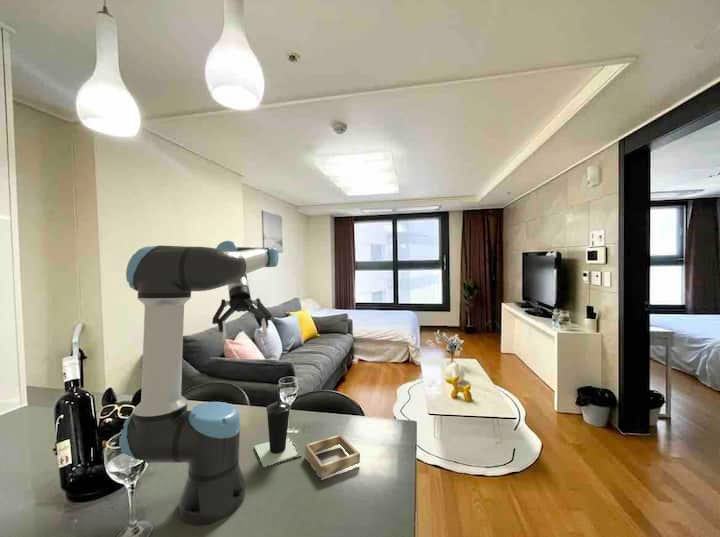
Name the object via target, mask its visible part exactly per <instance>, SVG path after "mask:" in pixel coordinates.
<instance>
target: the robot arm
mask: <svg viewBox="0 0 720 537" xmlns="http://www.w3.org/2000/svg"><path fill="white" fill-rule="evenodd" d="M278 263H279V251H278V249H277V248H276V247H249V246H247V247H246V246H237V244H236V243H235V242H234V241H231V240H225V241H221V242H220V243H218V244H217V246H216V248H215V247H209V246H208V247H207V246H183V245H182V246H180V245H179V246H177V245H152V246H149V245H148V246H143V247H142V248H139V249H138V250H137V251H136V252H135V253H133V254H132V256H131V257H130V259H129V261H128V262H127V266H126V269H125V270H126V271H125V278H126V282H127V283H128V286H129V287H130V288H131V289H132V290H134V291H135V292H137V300H139V301H140V302H141V304H142V305H143V306H144V315H143V316H144V317H143V318H144V320H143V321H144V322H143V338H142V339H143V340H142V342H143V343H142V367H141V368H142V369H141V394H140V397H141V398H140V402H139V403H138V404H137V405H136V406H135V407H134V408H133V410H132V413H131V414H130V415H129V416H128V417H127V418H126V419H125V421H124V423H123V424H122V426H123V428H122V429H121V430H120V433H119V442H118V444H119V449H120V448H121V451H120V453H121V452H123V453H124V454H126V455H128V456H131V457H133V458H134V459H139V460H143V461H145V462H147V464H151V463H153V464H160V463H161V464H165V463H166V464H168V463H169V464H170V463H171V464H172V463H173V464H174V463H175V464H176V463H179V464H180V463H182V464H183V463H184V464H185V463H187V464H188V465H187V471H188V472H187V478H186V481H185V484H184V487H183V490H182V493H181V496H180V498H179V503H178V504H179V505H178V508H179V510H178V512H179V513H178V514H179V517H180V518H181V519H182V521H184V522H185V523H188V524H191V525H206V524H211V523H215V522H218V521H221V520H222V519H225V518H227V517H228V516H230V515H232V514H233V513H234V512H236V510H238V508H240V507H241V505H242V504H243V502H244V500H245V497H246V481H245V478H244V475H243V472H242V470H241V467H240V464H239V463H240V437H241V436H240V433H241V432H240V431H241V421H240V411H239V409H237V408H236V407H235V406H234V405H233V404H231V403H228V402H224V401H223V402H222V401H209V402H203V403H199V404H198V405H195V406H194V407H193V408H192V409H191V410H188V399H187V398H185V397H184V396H183V395H182V383H183V382H182V380H183V379H182V377H183V351H184V350H183V348H184V347H183V346H184V345H183V344H184V320H185V319H184V316H185V304H186V303H187V302H188V301H189V300H190V299H191V298H192V292H206V291H211V290H215V289H218V288H222V287H223V288H224V287H225V286H227V287H228V288H227V290H228V297H229V300H226V299H221V302H220V305H219V307H218V309H217V311H216V312H215V314H214V315H213V317H212V322H211V323H212V324H213V325H217V327H218V333H222V342H226V341H227V340H226V339H227V329H226V320H227V319H228V318H229V317H230V316H231V315H233V314H234V313H235V312H239V313H240V312H249V313H250V314H252V315H254V316H255V317H256V318H258V319H259V320H260V321H261V323H260V324H261V328H262V329H261V330H262V333H263V338H267V336H268V328H269V321H271V319H272V316H273V314H272V313H271V312H270V311H269V310H268V308H266V306H264V304H263V303H262V302H261V298H258V297H257V298H256V299H254V300H253V299H252V297H251V292H250V287H249V282H248V276H247V274H249V273H252V272H255V271H257V270H260V269H262V268H276V267H277V266H278ZM227 306H229V308H228V309H227V310H226V311H225V308H226V307H227ZM223 311H225V312H224V313H223ZM222 313H223V314H222ZM221 315H222V316H221ZM122 433H123V434H122ZM120 434H121V436H120ZM232 512H233V513H232ZM229 514H230V515H229ZM224 517H225V518H224Z"/></svg>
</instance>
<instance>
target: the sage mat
mask: <svg viewBox="0 0 720 537" xmlns="http://www.w3.org/2000/svg"><path fill="white" fill-rule="evenodd" d="M288 437H289V436H287V438H288ZM287 438H286V447H285V450H284V451H283V452H282V453H278V454H274V453H271V452H270V444H269V441H266V442H263V443H261V444H260V443H259V444H256V445H253V448H254V447H255V449H254V451H255V450H256V451H255V453H256V452H257V454H258V456H259V458H260V460H259V462H260V461H261V463H262V465H263V466H266V465H269V464H272V463H275V462H278V461H281V460H284V459H287V458H291V457H293V456H296V455H297V453H298V452H296V450H295V449H296V448H295V447H294V446H293V445H292V444H293V443H292V441H293V440H292V441H290V439H289V438H288V439H287ZM289 441H290V442H289ZM294 448H295V449H294ZM257 454H256V455H257ZM258 456H257V457H258ZM259 458H258V459H259ZM261 463H260V464H261ZM262 465H261V466H262Z"/></svg>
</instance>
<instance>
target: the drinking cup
mask: <svg viewBox="0 0 720 537" xmlns="http://www.w3.org/2000/svg"><path fill="white" fill-rule="evenodd" d="M280 398H281V387H280V386H278V387H277V401H276V402H273V403H271V404H268V405H267V406H266V410H265V411H266V412H267V416H266V417H267V427H268V440H269V441H268V442H269V444H270V452H271V453H274V454H278V453H282V452H283V451H284V450H285V447H286V438H287V437H288V426H289V420H290V419H289V417H290V410H291V408H292V407H291V404H290V403H287V402H282V401H281V399H280Z"/></svg>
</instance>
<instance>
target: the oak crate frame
mask: <svg viewBox="0 0 720 537" xmlns="http://www.w3.org/2000/svg"><path fill="white" fill-rule="evenodd" d="M338 444H340V445H341V446H342V447H343V448H344V449H345V451H346V452H347V453H348V454H349V456H346V455H345V456H343V457H340V458H338V459H335V460H332V461H331V460H330V461H329V462H326V463H322V461H321V459H320V458H319V457H318V455H317V456H316V455H315V453H316V452H319V451H321V450H324V449H328V448H331V447H333V446H335V445H338ZM305 455H306V457H307V458H308V460H309V461H310V462H311V464H312V465H313V467H314V468H315V470H316V472H317V473H318V475H319V476H320V478H321V479H322V478H324V477H327V476H329V475H331V474H334V473H336V472H338V471H341V470H343V469H345V468H348V467H350V466H353V465H355V464H358V463H360V464H361V453H360V452H359V451H358V450H357V449H356V448H355V447H354V446H353V445H352V444H351V443H350V442H349V441H348V440H347V439H346V438H345V437H344V436H343V435H342V434H338V435H335V436H331V437H328V438H324V439H321V440H316V441H314V442H311V443H307V444H304V456H305Z"/></svg>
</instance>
